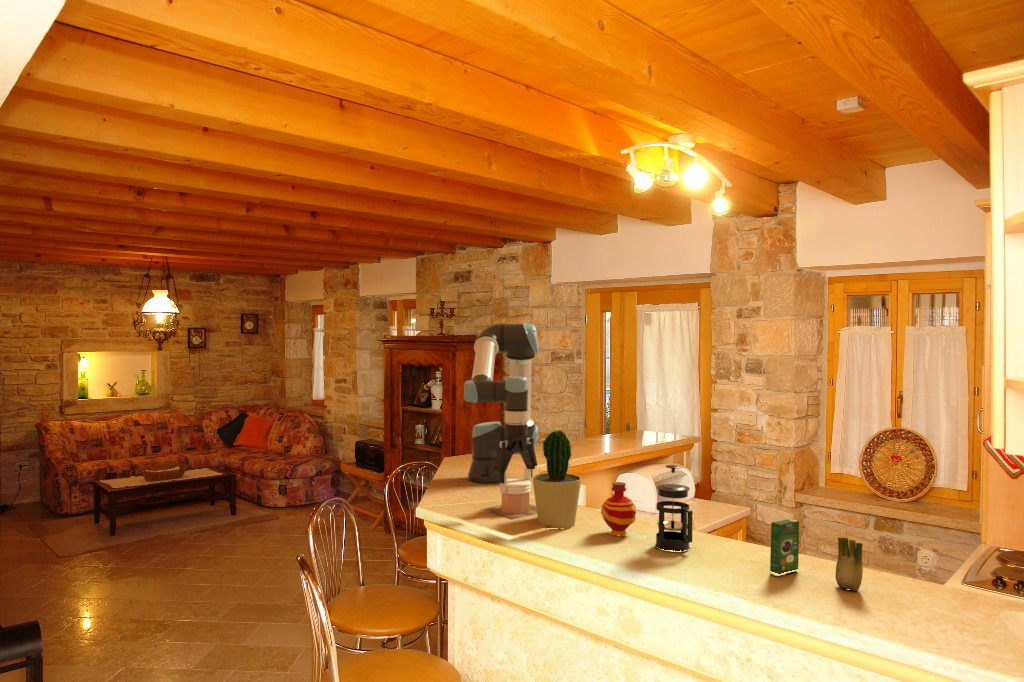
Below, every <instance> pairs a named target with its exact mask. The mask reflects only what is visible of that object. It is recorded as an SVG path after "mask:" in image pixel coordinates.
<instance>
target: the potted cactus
mask: <svg viewBox="0 0 1024 682" xmlns="http://www.w3.org/2000/svg"><path fill="white" fill-rule="evenodd" d="M564 431H565V430H563V431H562V430H559V429H558V430H557V429H555V430H554V431H550V433H549V435H546V437H545V439H544V440H543V441H541V443H542V444H543V445H542V456H540V457H541V458H544V459H545V462H546V465H545V467H546V471H547V472H542V473H537V474H534V475H532V478H531V479H532V486H533V491H534V499H535V501H534V502H535V506H536V509H537V514H536V516H537V521H538V523H539V524H542V525H547V526H546V527H547V528H558V529H557V530H562V529H561V528H569V527H572V526H573V527H575V525H576V524H575V523H576V520H577V519H576V518H577V517H576V516H577V510H578V504H579V497H580V491H581V484H582V477H581V476H580V475H578V474H574V473H570V472H569V471H570V470H569V468H570V467H571V465H570V463H569V462H572V460H573V458H572V449H571V448H572V444H571V440H570V439H569V436H567V435H566V434H565V433H566V432H567V431H566V432H564ZM573 527H572V528H573ZM547 528H546V529H547ZM569 529H570V528H569Z"/></svg>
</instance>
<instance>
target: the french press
mask: <svg viewBox="0 0 1024 682" xmlns="http://www.w3.org/2000/svg"><path fill="white" fill-rule="evenodd" d="M665 468H667V469H671V471H670V472H671V475H672V483H664V484H663V483H662V484H661V483H660V484H658V485H656V489H657V494H658V496H660V497H661V498H662V497H663V498H665V499H666V498H667V499H672V500H662V501H658V502H657V503H656V505H655V506H656V510H657V511H658V522H657V527H658V532H657V533H656V535H655V537H656V538H655V546H656V547H658V548H660V549H664V550H673V551H674V550H675V551H680V550H681V551H684V550H688V549H691V547H690V543H693V519H694V518H693V509H690V504H688V503H686V502H682V501H676V500H674V499H684V498H688V495H689V491H690V487H689V486H687V485H683V484H674V483H675V482H674V481H675V480H674V479H675V478H674V477H675V472H676V471H675V470H677V469H681V468H682V467H681V466H680V465H677V464H666V465H665ZM665 506H666V507H665ZM668 506H671V508H670V507H668ZM674 507H680V508H674ZM665 513H666V514H671V520H665ZM674 514H679V515H680V521H677V520H674ZM656 547H655V548H656Z"/></svg>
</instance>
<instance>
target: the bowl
mask: <svg viewBox="0 0 1024 682" xmlns="http://www.w3.org/2000/svg"><path fill="white" fill-rule="evenodd" d="M530 493H531V491H530V492H529V493H527V494H521V495H512V494H505V493H501V505H502V511H503V512H507V513H520V514H521V513H525V512H529V504H530Z"/></svg>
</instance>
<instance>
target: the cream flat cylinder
mask: <svg viewBox="0 0 1024 682" xmlns="http://www.w3.org/2000/svg"><path fill="white" fill-rule="evenodd" d="M530 484H531V486H530ZM530 488H531V489H530ZM531 490H532V481H531V482H530V481H529V480H526V479H524V478H507V493H506V494H512V495H521V494H527V493H529V492H530V493H531Z"/></svg>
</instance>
